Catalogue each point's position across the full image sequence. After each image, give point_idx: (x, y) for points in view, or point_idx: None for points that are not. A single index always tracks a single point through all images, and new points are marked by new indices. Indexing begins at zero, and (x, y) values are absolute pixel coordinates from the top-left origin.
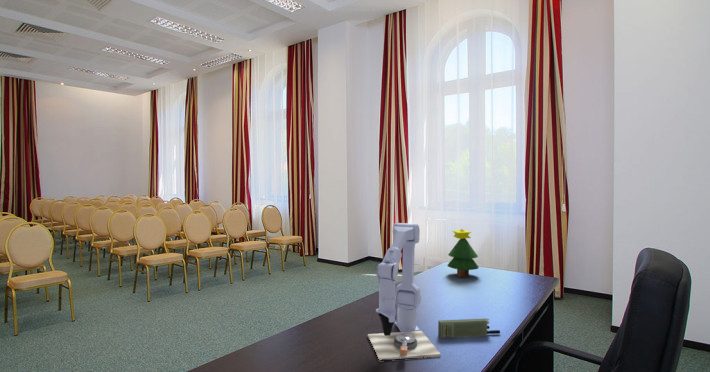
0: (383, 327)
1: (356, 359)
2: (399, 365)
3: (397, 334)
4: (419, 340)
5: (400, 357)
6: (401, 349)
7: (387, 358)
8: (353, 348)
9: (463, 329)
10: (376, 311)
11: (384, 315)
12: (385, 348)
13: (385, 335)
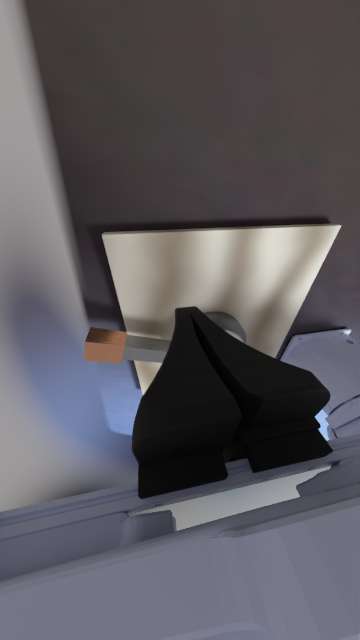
0: (173, 337)
1: (118, 76)
2: (82, 304)
3: (241, 339)
4: None
5: (123, 317)
6: (90, 345)
7: (112, 273)
8: (262, 95)
9: None
10: (314, 557)
11: (221, 447)
12: (193, 279)
13: (175, 312)
